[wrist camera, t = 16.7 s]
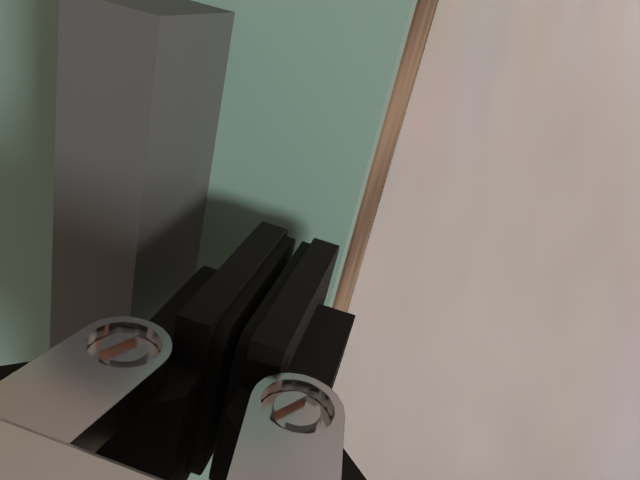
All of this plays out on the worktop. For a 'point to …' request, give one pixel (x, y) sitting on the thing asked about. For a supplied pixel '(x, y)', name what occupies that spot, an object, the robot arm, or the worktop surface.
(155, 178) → the lid
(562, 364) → the worktop surface
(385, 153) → the open wooden box
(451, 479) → the worktop surface
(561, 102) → the worktop surface
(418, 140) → the worktop surface
